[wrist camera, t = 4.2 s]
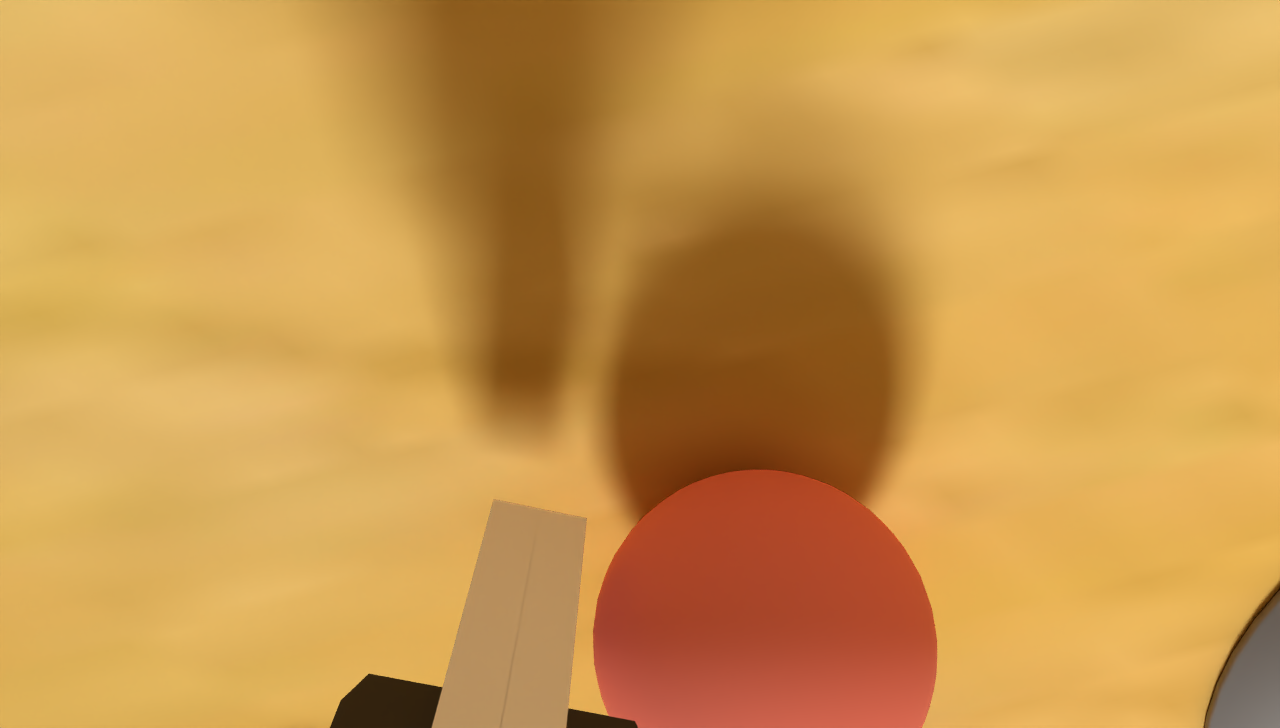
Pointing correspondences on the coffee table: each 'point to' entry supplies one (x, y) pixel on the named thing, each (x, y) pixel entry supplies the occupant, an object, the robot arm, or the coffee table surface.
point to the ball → (764, 612)
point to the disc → (1251, 677)
